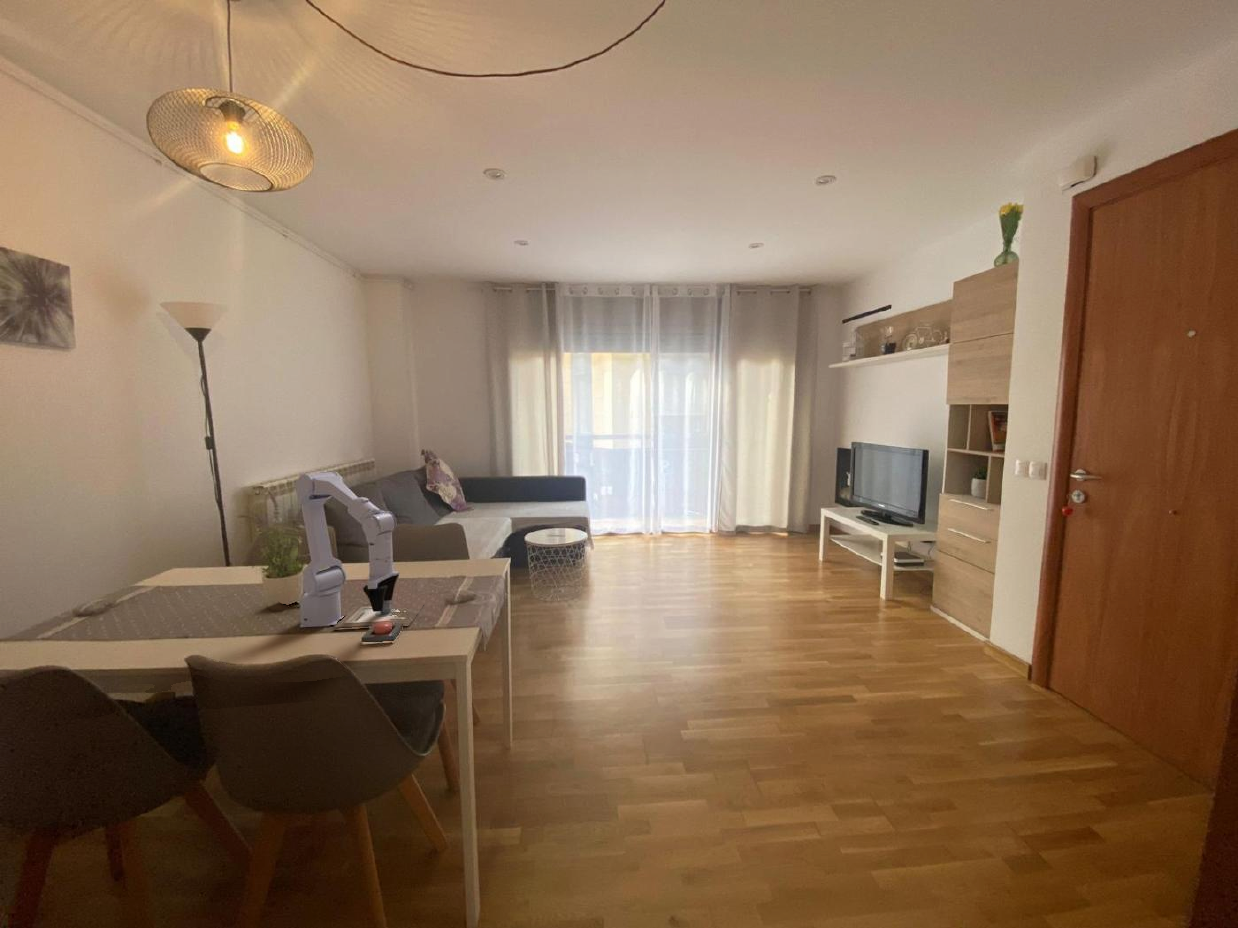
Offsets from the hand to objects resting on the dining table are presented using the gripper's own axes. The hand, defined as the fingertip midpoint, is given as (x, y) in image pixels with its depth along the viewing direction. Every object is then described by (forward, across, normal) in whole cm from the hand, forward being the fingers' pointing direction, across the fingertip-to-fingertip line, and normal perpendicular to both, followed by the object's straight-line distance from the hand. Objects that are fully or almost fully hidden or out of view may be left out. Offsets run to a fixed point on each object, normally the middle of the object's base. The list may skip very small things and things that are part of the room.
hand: (382, 605), depth 126 cm
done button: (+7, -1, 0) cm, 7 cm away
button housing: (+8, -1, 0) cm, 9 cm away
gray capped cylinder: (+7, +13, +4) cm, 15 cm away
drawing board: (+8, +13, +5) cm, 16 cm away
